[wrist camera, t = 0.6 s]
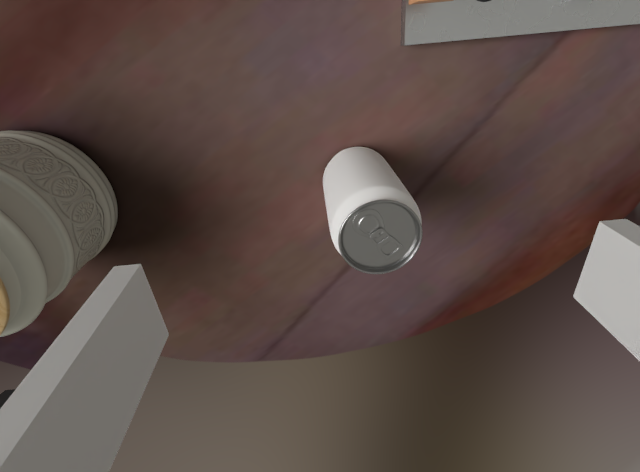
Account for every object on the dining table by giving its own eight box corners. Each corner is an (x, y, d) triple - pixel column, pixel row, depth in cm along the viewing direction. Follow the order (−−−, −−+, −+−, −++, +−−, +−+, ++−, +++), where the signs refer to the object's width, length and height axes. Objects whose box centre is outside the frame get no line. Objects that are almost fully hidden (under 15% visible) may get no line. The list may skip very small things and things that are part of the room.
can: (362, 130, 32) (392, 172, 22) (402, 181, 35) (447, 242, 24) (308, 176, 34) (311, 236, 23) (350, 221, 36) (370, 294, 26)
